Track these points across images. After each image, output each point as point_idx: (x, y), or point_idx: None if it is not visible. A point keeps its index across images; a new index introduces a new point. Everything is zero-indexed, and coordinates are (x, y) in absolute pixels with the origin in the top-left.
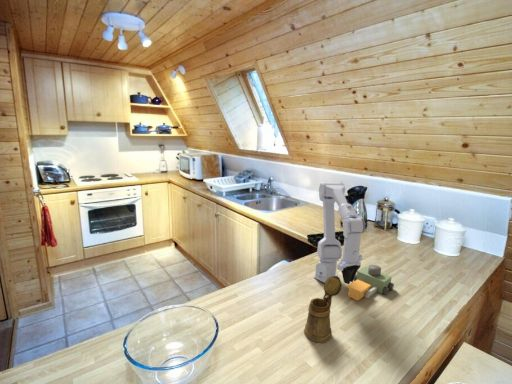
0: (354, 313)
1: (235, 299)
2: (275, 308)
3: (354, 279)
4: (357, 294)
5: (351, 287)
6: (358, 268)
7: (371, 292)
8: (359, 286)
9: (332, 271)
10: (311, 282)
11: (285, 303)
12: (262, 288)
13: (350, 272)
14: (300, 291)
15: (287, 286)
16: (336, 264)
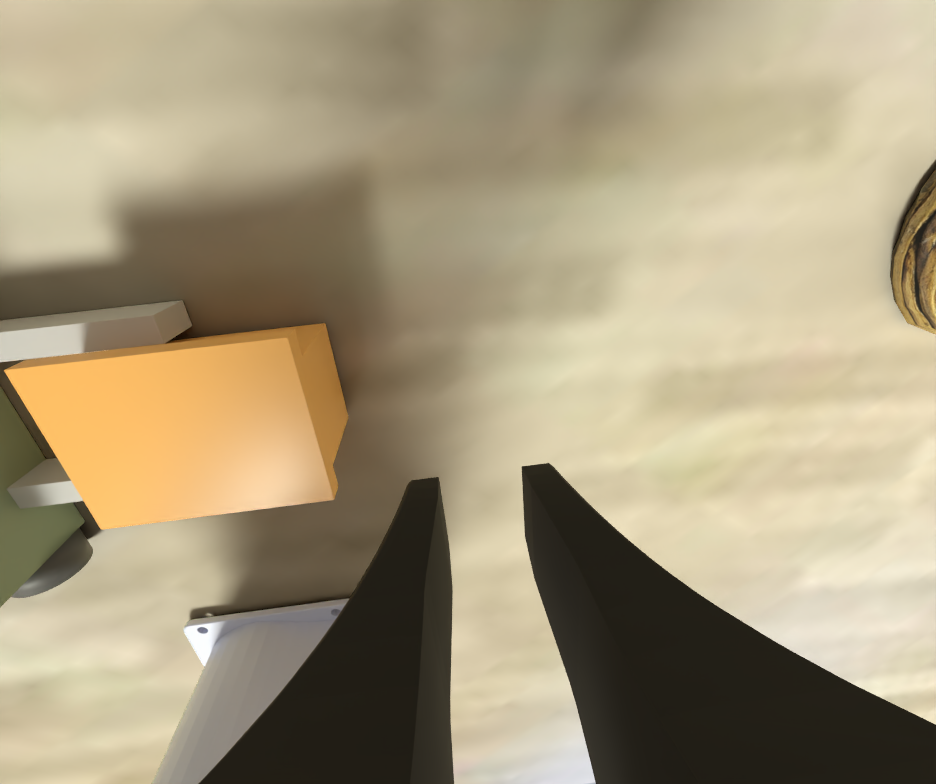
0: (525, 211)
1: (918, 683)
2: (876, 556)
3: (82, 553)
4: (311, 357)
5: (317, 457)
6: (267, 782)
7: (70, 321)
8: (202, 425)
9: (264, 704)
10: None
11: (791, 565)
12: None
13: (907, 717)
14: None
15: None
16: (176, 782)
